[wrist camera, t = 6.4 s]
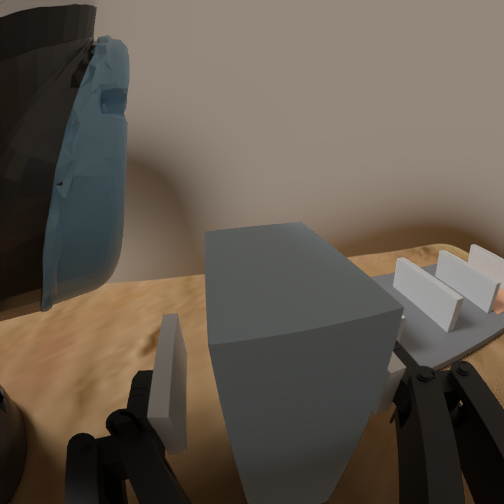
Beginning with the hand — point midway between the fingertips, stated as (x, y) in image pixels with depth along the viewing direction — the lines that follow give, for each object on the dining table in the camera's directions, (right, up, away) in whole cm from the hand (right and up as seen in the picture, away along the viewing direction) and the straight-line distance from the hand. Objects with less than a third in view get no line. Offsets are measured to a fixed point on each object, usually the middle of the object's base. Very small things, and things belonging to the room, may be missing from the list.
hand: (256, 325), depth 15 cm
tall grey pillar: (+1, -8, -2) cm, 9 cm away
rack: (+21, -2, +11) cm, 24 cm away
